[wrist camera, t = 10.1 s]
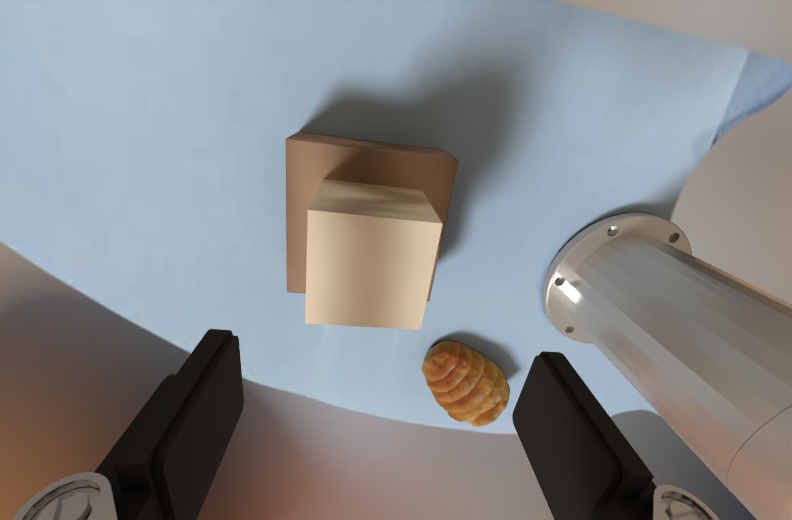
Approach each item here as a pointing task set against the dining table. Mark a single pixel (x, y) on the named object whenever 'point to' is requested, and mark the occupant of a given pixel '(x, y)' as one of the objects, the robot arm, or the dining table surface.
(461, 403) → the pastry
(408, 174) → the walnut base
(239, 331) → the dining table surface
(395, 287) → the maple cube
